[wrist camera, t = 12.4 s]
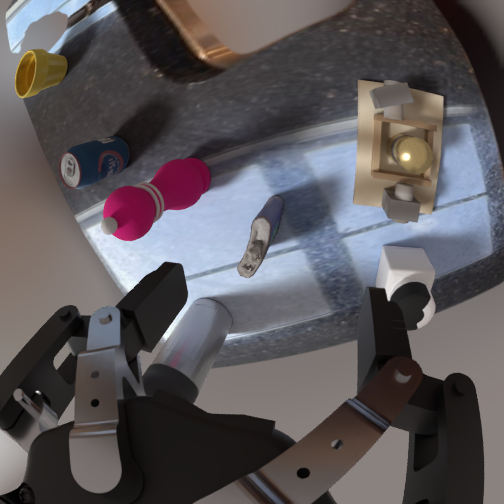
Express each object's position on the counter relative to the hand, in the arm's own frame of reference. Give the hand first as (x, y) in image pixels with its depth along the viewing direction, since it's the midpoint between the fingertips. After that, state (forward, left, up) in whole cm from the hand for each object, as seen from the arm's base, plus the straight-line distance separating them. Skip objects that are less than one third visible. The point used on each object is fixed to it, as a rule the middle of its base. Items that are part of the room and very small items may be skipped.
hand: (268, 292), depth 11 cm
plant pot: (+25, +50, -28) cm, 63 cm away
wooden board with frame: (+4, -12, -28) cm, 31 cm away
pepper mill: (-2, +18, -28) cm, 34 cm away
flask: (-9, +6, -28) cm, 30 cm away
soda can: (+3, +33, -28) cm, 44 cm away
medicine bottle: (-14, -15, -28) cm, 35 cm away
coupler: (+4, -12, -27) cm, 30 cm away
